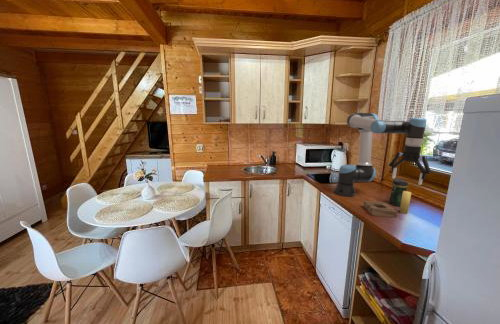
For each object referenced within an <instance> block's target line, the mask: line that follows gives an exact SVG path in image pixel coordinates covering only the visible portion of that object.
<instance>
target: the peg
mask: <svg viewBox="0 0 500 324" xmlns="http://www.w3.org/2000/svg"><path fill="white" fill-rule="evenodd" d="M411 197H412V191H408V190H406V191H403V194H402V199H401V205H400V206H399V211H398V213H401V214H403V215H404V214H406V215H407V214H409V213H408V212H409V207H410V204H411V203H410V202H411Z"/></svg>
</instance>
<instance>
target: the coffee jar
mask: <svg viewBox="0 0 500 324" xmlns="http://www.w3.org/2000/svg"><path fill="white" fill-rule="evenodd" d="M391 185H392V187H391V193H390V196H389V203H390V204H392V205H393V206H397V207H400V205H401V199H402V194H403V191H408V190H407V189H408V186H409V182H408V181H405V180H404V179H402V178H396V177H395V178H394V179H393V180H392V183H391Z"/></svg>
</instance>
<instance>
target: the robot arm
mask: <svg viewBox="0 0 500 324" xmlns="http://www.w3.org/2000/svg"><path fill="white" fill-rule="evenodd" d="M346 124H347V126H348V127H350V128H352V129H353V128H354V129H357V132H359V144H358V145H359V147H358V148H359V150H358V162H357V163H355V164H356V165H354V164H343V165H341V166H340V167H339V170H338V178H337V179H338V180H337V184H336V186H335V188H334V193H335V194H337V195H338V196H341V197H342V196H343V197H347V198H348V197H349V198H350V197H355V196H356V190H355V186H354V185H355V182H365V183H367V182H372V181H373V180H375V178H376V175H377V170H376V168H375V167H374V165H373V164H372V162H371V161H372V148H373V147H372V145H373V133H374V134H398V135H399V134H402V135H406V138H405V141H404V142H405V143H404V148H403V152H400V151H398V152H397V153H396V155H395V156H394V158H393V159H392V161H391V162H390V163H389V164H388V167H391V172H390V173H392V176H391V179H393V180H394V179H395V178H396V176H397V172H398V171H397V170H398V166H400V164H402V163H404V162H409V163H414V164H415V165H416V166H417V168H418V170H419V171H420V174H419V179H418V183H417V184H418V186H419V185H420V186H421V185H422V184H423V180H425V179H426V178H427V177H426V176H427V174H432V171H431V168H430V165H429V163H428V160H427V155H421V150H422V145H423V140H424V135H425V131H426V127H427V118H425V117H410V118H409V120H406V121H405V120H382V119H379V116H378V115H377V114H376V113H374V112H373V113H372V112H354V113H350V114H349V115H348V116H347V118H346ZM401 157H402V158H401ZM399 158H401V159H400V160H399ZM419 159H420V160H421V161H422V163H423V164H422V163H421V162H420V160H419Z"/></svg>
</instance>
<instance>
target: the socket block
mask: <svg viewBox="0 0 500 324" xmlns="http://www.w3.org/2000/svg"><path fill="white" fill-rule="evenodd" d="M363 208H364V209H365V210H366V211H367V212H368V213H369V215H371V216H372V217H373V216H374V217H387V218H397V216H398V215H397V214H398V211H397V210H396V209H395V208H393V207H392V206H391V205H390V204H388V203H387V202H382V201H370V200H364V201H363Z"/></svg>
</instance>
